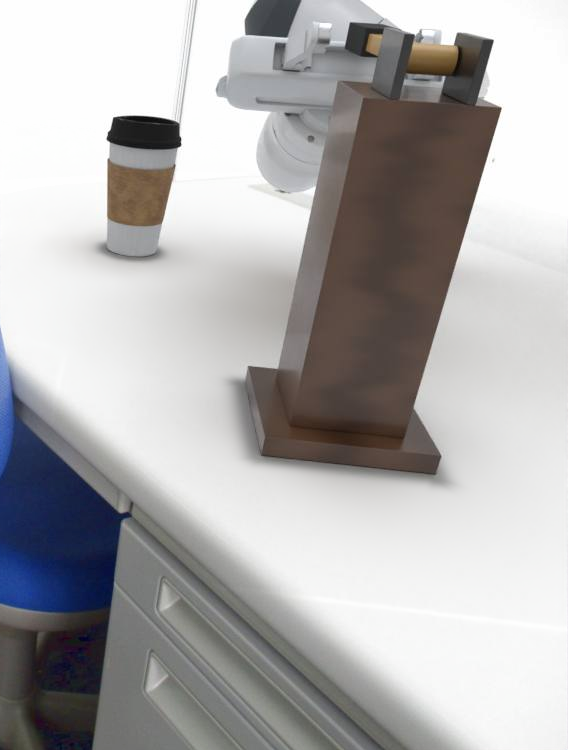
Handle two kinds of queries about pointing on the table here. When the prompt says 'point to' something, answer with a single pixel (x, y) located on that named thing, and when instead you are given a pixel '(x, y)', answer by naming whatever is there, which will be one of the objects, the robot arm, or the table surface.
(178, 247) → the table surface
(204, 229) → the table surface
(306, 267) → the pedestal
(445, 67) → the lever
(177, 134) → the coffee cup
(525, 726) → the table surface
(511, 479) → the table surface
